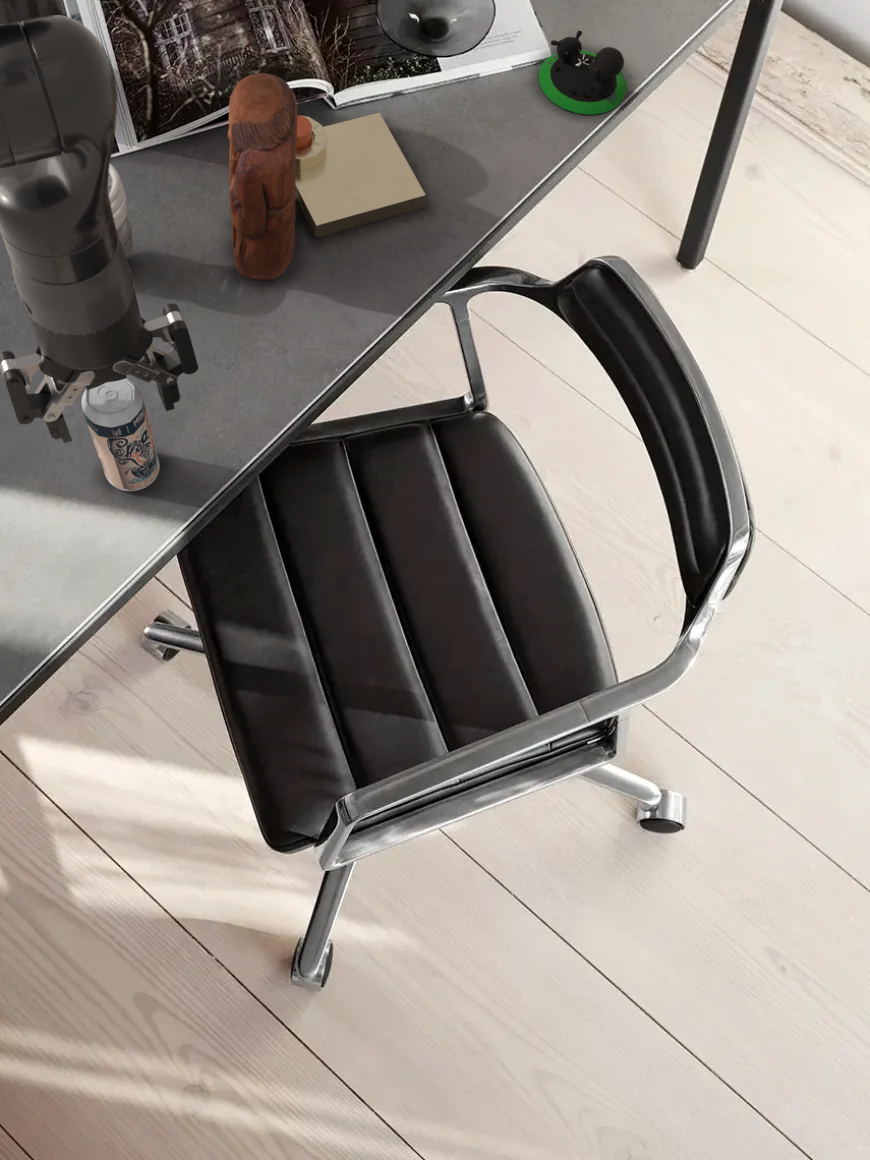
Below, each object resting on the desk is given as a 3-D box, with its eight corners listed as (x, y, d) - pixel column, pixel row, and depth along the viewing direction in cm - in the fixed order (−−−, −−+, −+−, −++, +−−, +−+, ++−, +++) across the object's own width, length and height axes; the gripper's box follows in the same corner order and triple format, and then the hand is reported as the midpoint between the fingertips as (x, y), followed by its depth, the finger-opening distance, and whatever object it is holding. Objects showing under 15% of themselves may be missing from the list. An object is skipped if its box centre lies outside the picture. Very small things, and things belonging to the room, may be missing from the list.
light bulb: (129, 292, 108) (108, 202, 97) (72, 280, 108) (44, 188, 97) (147, 248, 110) (128, 155, 100) (91, 236, 110) (66, 141, 100)
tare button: (277, 132, 114) (277, 118, 113) (305, 125, 115) (305, 111, 113) (288, 153, 113) (288, 140, 111) (316, 146, 114) (316, 132, 112)
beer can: (139, 503, 99) (116, 429, 88) (94, 477, 99) (66, 402, 89) (171, 463, 101) (153, 386, 90) (126, 438, 101) (103, 359, 90)
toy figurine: (580, 37, 128) (591, -8, 123) (644, 88, 126) (659, 44, 121) (519, 75, 125) (529, 30, 120) (584, 128, 122) (597, 84, 117)
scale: (260, 149, 117) (259, 122, 114) (375, 119, 120) (376, 93, 117) (306, 241, 113) (306, 216, 109) (424, 208, 116) (427, 183, 113)
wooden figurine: (239, 191, 115) (225, 40, 98) (302, 196, 115) (299, 47, 99) (228, 283, 110) (212, 141, 93) (294, 288, 110) (289, 147, 94)
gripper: (159, 221, 81) (184, 357, 95) (-42, 275, 77) (16, 407, 92) (194, 300, 78) (215, 427, 93) (-13, 360, 74) (42, 482, 89)
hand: (116, 417), depth 92 cm, fingers open, 8 cm apart
